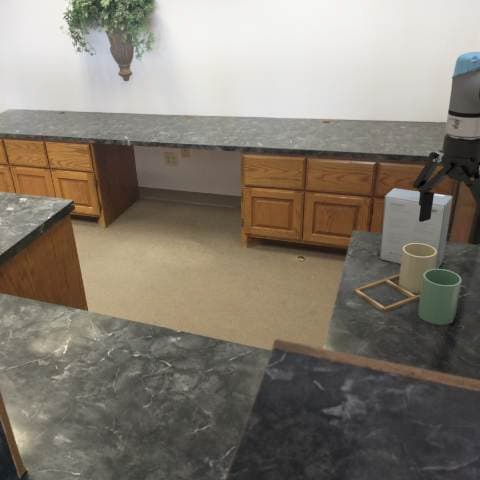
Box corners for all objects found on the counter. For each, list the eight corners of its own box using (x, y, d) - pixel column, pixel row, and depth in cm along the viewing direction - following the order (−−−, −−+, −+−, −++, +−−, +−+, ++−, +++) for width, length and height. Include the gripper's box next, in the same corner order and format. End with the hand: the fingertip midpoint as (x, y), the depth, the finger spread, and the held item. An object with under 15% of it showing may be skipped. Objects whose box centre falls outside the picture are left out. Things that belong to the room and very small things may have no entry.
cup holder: (446, 294, 130) (447, 285, 129) (383, 317, 124) (384, 309, 123) (413, 276, 139) (414, 268, 138) (353, 297, 133) (353, 289, 132)
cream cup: (437, 293, 131) (443, 251, 125) (414, 301, 128) (420, 260, 123) (413, 280, 137) (418, 240, 132) (391, 287, 135) (396, 247, 129)
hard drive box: (443, 261, 144) (454, 196, 135) (435, 273, 139) (446, 206, 130) (387, 248, 153) (394, 186, 145) (377, 259, 149) (384, 195, 140)
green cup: (460, 323, 119) (469, 279, 113) (436, 333, 116) (443, 289, 111) (433, 308, 125) (440, 265, 120) (409, 317, 123) (415, 274, 118)
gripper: (402, 126, 110) (392, 215, 120) (513, 152, 89) (490, 258, 99) (428, 120, 113) (417, 208, 122) (542, 144, 91) (518, 248, 101)
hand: (450, 231), depth 110 cm, fingers open, 13 cm apart
